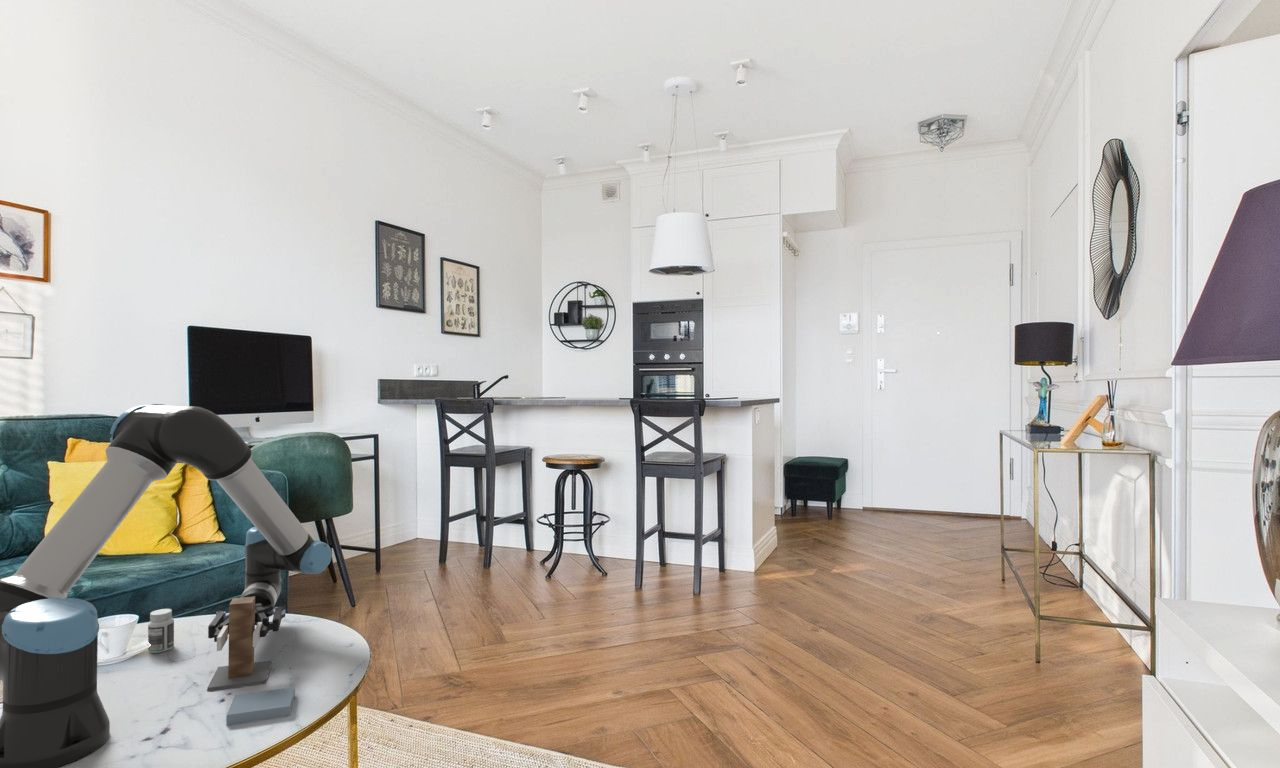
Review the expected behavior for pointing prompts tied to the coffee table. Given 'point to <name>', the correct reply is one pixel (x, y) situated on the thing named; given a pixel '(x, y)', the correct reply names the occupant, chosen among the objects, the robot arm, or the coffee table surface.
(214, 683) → the plate
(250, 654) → the tall wooden pillar
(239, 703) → the tile
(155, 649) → the pill bottle
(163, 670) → the coffee table surface
